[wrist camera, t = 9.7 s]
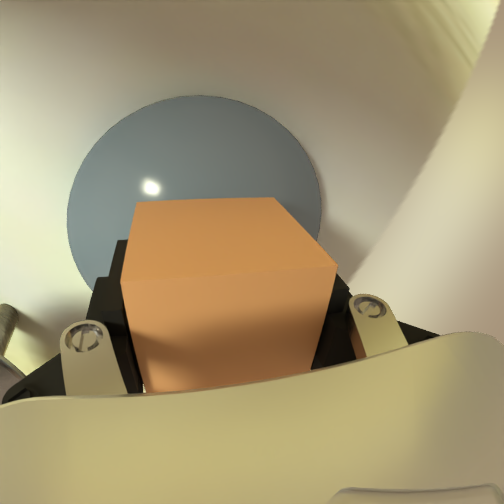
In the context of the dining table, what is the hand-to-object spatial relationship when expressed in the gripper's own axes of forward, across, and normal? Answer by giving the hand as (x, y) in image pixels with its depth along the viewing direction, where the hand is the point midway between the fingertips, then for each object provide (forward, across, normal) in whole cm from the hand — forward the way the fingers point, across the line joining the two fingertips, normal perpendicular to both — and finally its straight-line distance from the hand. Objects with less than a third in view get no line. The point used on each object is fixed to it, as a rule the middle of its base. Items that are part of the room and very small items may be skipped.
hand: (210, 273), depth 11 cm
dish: (+4, 0, 0) cm, 4 cm away
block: (+1, 0, 0) cm, 1 cm away
